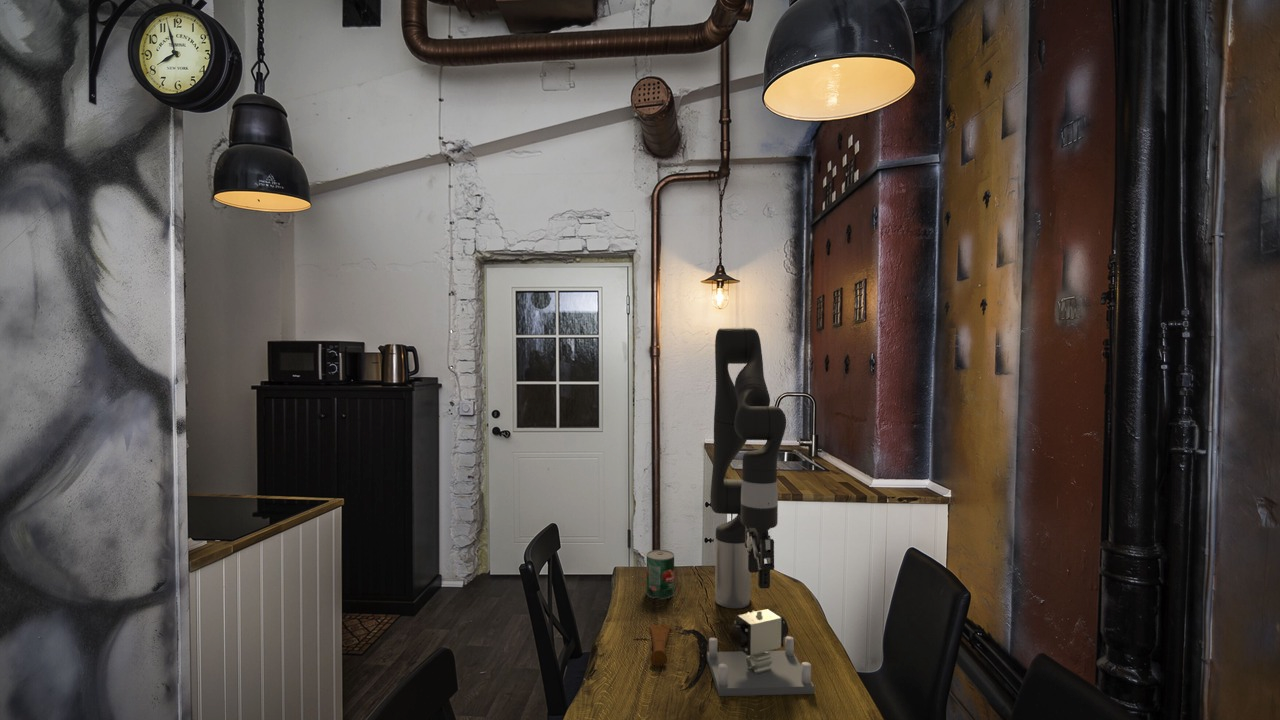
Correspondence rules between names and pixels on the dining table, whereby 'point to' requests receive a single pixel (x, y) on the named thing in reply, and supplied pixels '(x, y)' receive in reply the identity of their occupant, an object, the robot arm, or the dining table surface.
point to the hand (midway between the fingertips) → (758, 579)
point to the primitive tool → (659, 643)
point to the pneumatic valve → (758, 637)
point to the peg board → (743, 681)
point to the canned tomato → (660, 574)
